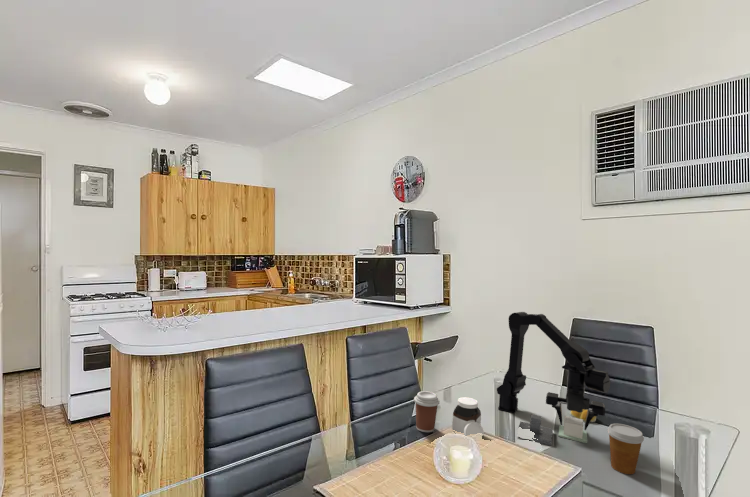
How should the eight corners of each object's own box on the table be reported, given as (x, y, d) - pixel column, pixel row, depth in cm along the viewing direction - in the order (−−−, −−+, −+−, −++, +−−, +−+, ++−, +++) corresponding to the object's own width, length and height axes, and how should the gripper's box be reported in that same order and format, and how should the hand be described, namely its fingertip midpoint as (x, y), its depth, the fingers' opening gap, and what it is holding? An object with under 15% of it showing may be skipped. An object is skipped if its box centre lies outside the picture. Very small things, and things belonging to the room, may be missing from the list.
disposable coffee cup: (598, 460, 131) (601, 422, 131) (627, 460, 132) (629, 423, 131) (618, 477, 121) (621, 437, 121) (649, 477, 122) (652, 437, 122)
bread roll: (591, 425, 157) (592, 414, 157) (567, 416, 164) (568, 406, 164) (599, 419, 163) (600, 409, 163) (576, 412, 170) (576, 402, 170)
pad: (558, 436, 146) (558, 434, 146) (559, 426, 154) (559, 425, 154) (587, 443, 142) (587, 441, 142) (586, 432, 150) (586, 431, 150)
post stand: (516, 437, 143) (517, 418, 143) (520, 425, 153) (521, 407, 153) (550, 445, 139) (552, 426, 139) (552, 432, 149) (553, 414, 148)
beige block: (563, 434, 147) (564, 421, 146) (563, 427, 152) (564, 415, 152) (582, 438, 144) (583, 425, 144) (582, 431, 149) (582, 419, 149)
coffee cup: (407, 427, 147) (409, 393, 146) (422, 420, 153) (424, 388, 153) (428, 436, 140) (430, 401, 140) (443, 428, 147) (445, 395, 147)
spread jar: (464, 426, 150) (466, 394, 150) (492, 437, 142) (494, 404, 142) (444, 435, 142) (446, 402, 142) (473, 449, 134) (475, 413, 134)
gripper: (546, 385, 144) (543, 429, 145) (607, 396, 136) (604, 443, 137) (548, 376, 154) (545, 417, 155) (605, 386, 146) (602, 430, 147)
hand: (573, 427), depth 148 cm, fingers open, 7 cm apart
